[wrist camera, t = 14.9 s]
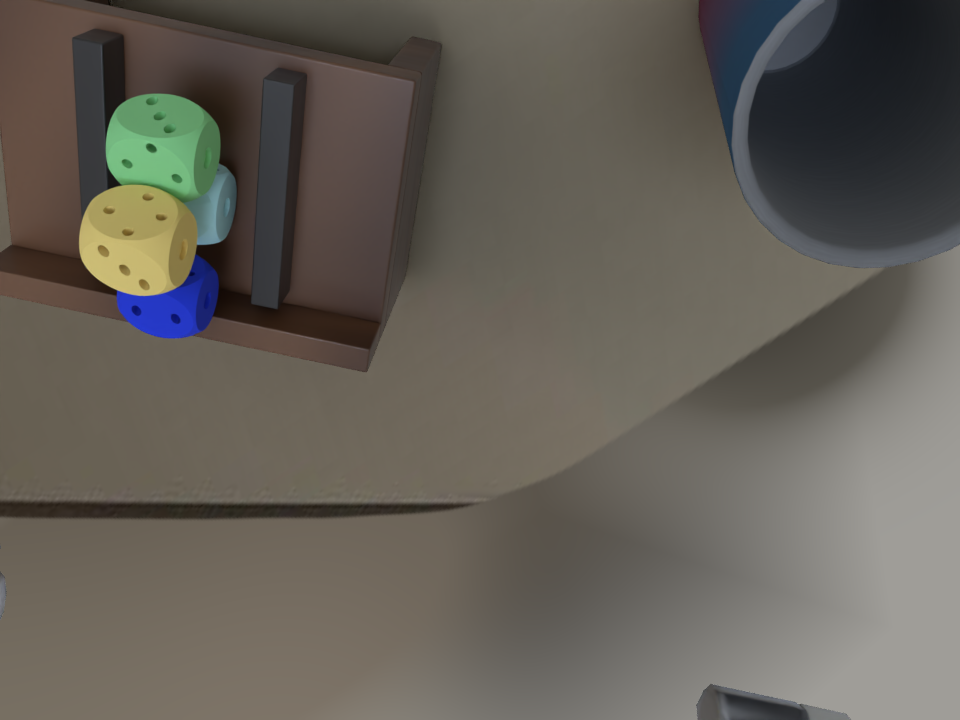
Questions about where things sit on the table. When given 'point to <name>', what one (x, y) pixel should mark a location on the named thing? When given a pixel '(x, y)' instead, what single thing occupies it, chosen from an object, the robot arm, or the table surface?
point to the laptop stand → (243, 151)
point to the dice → (160, 214)
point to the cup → (843, 122)
